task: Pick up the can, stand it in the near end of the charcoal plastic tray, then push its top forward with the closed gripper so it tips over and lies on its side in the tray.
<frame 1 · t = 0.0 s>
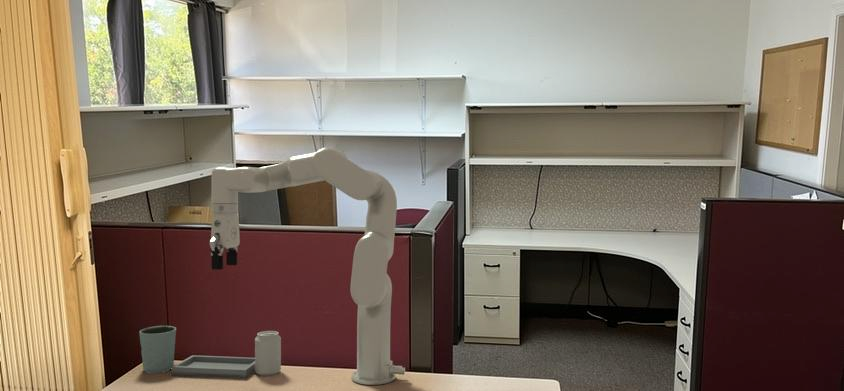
hand: (224, 267, 183), 31 cm above the table, tool pointing down, fingers open, 9 cm apart
green cup: (157, 369, 186), on the table
tray: (217, 370, 185), on the table
can: (267, 373, 183), on the table
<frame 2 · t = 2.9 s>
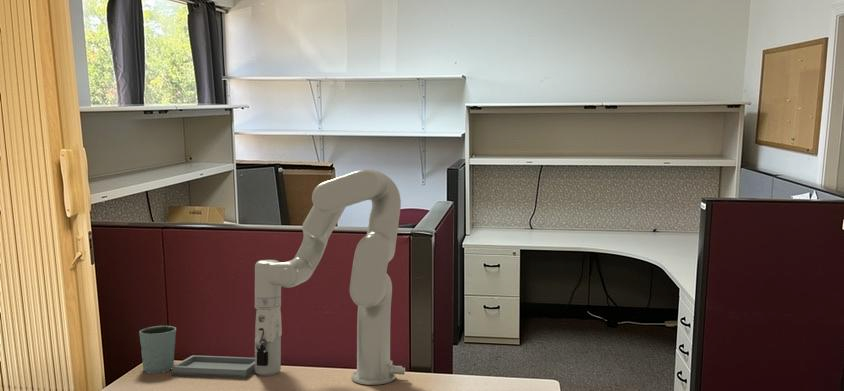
hand: (267, 361, 183), 3 cm above the table, tool pointing down, fingers closed on can, 7 cm apart
can: (267, 373, 183), on the table, touching gripper
everything else where it was.
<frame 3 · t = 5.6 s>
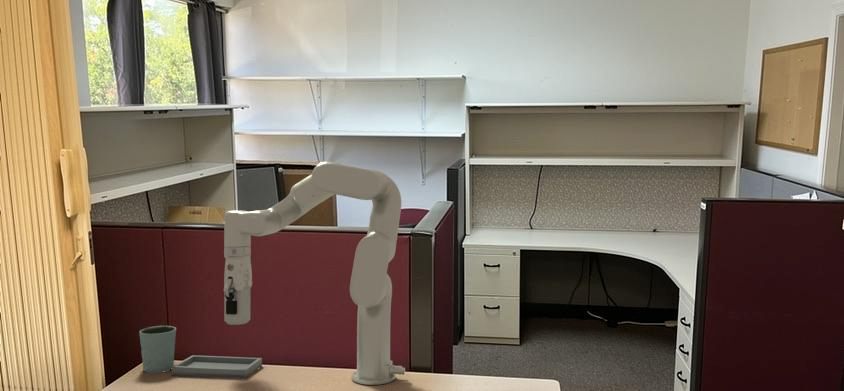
hand: (237, 310, 184), 18 cm above the table, tool pointing down, fingers closed on can, 7 cm apart
can: (237, 323, 184), point 14 cm above the table, touching gripper
everything else where it was.
when the fingers open (5 cm above the table, at t = 8.4 s): can stays where it is, resting on tray.
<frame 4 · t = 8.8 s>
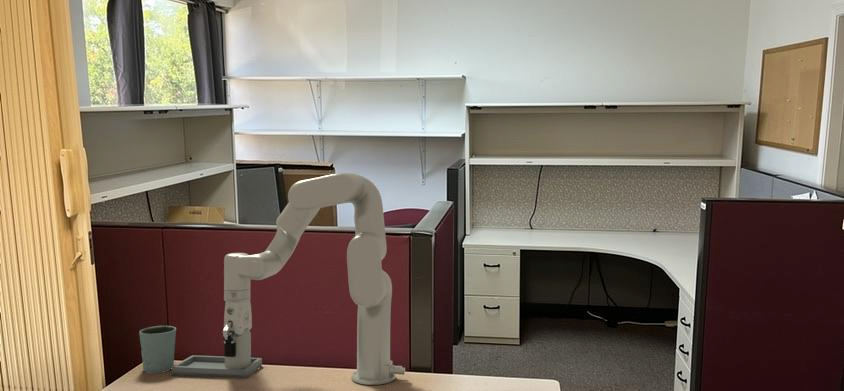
hand: (237, 352, 184), 6 cm above the table, tool pointing down, fingers open, 9 cm apart
can: (237, 368, 184), point 1 cm above the table, touching tray
everything else where it was.
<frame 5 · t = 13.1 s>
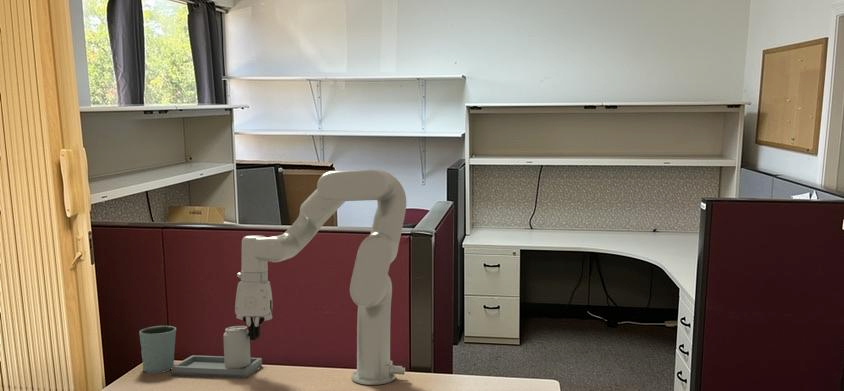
hand: (254, 338, 184), 10 cm above the table, tool pointing down, fingers closed
can: (237, 368, 184), point 1 cm above the table, touching gripper, tray
everything else where it was.
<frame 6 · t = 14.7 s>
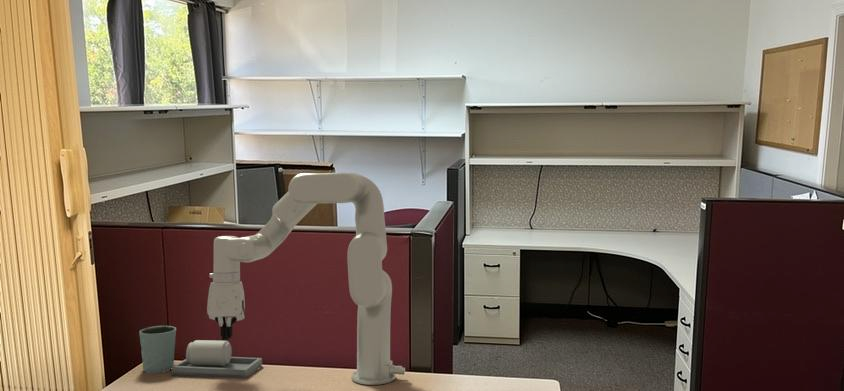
hand: (226, 338, 185), 10 cm above the table, tool pointing down, fingers closed
can: (229, 353, 187), point 5 cm above the table, touching tray
everything else where it was.
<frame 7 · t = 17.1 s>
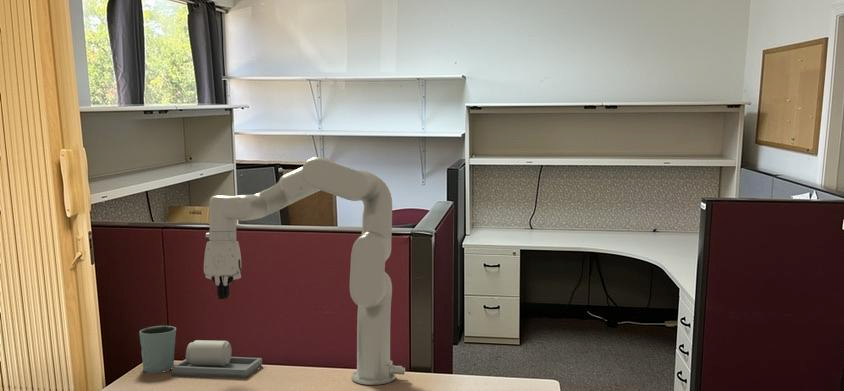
hand: (223, 298, 185), 22 cm above the table, tool pointing down, fingers closed
nothing on the table moved.
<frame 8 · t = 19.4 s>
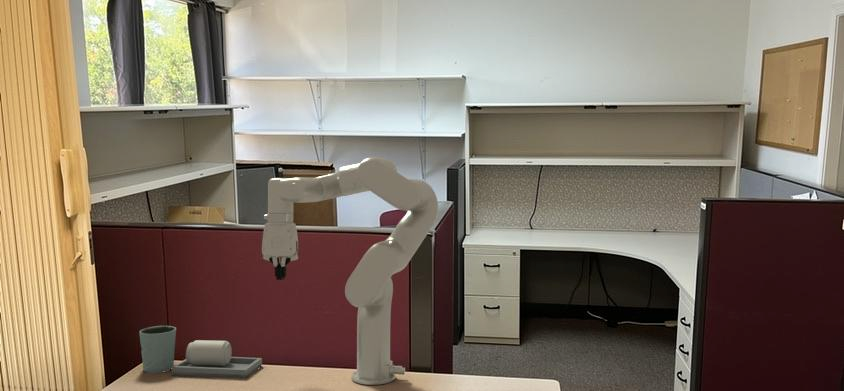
hand: (280, 279, 188), 27 cm above the table, tool pointing down, fingers closed
nothing on the table moved.
at the end: can tilted 90°; can inside the target area (3.7 cm from its centre), point 4.7 cm above the table; the gripper is holding nothing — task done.
